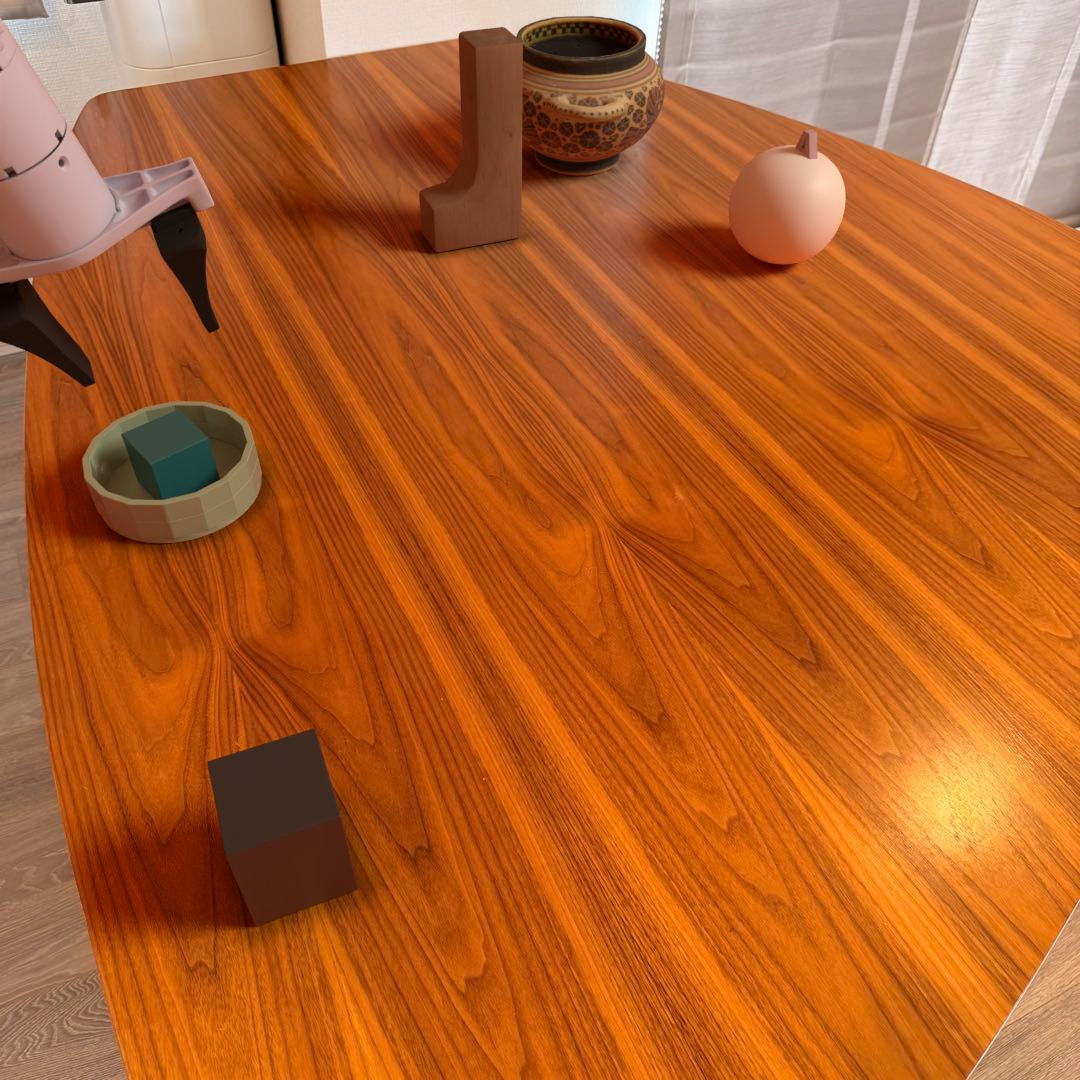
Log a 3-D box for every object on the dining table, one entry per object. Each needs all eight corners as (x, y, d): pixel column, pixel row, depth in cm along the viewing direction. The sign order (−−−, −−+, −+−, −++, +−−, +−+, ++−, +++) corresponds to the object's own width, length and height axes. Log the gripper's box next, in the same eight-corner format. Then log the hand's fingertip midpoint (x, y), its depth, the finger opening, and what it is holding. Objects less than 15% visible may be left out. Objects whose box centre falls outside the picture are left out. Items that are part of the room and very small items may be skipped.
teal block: (166, 512, 66) (149, 464, 63) (137, 481, 68) (120, 433, 65) (222, 485, 68) (208, 437, 65) (192, 456, 70) (178, 408, 67)
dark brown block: (255, 927, 46) (225, 855, 41) (237, 837, 49) (206, 760, 44) (359, 889, 47) (341, 816, 42) (334, 804, 51) (314, 727, 46)
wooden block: (435, 254, 92) (423, 53, 80) (420, 233, 95) (406, 36, 83) (522, 238, 95) (524, 41, 82) (505, 218, 98) (505, 25, 85)
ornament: (849, 255, 94) (882, 130, 85) (793, 295, 88) (823, 165, 80) (759, 221, 99) (782, 99, 90) (701, 257, 93) (719, 130, 85)
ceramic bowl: (517, 138, 119) (484, 7, 109) (661, 102, 116) (640, -35, 106) (518, 234, 102) (478, 89, 91) (687, 194, 99) (665, 41, 89)
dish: (105, 561, 63) (89, 522, 60) (92, 459, 70) (77, 420, 68) (276, 519, 66) (267, 480, 64) (246, 425, 73) (237, 387, 71)
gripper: (137, 48, 49) (246, 258, 60) (-146, 161, 47) (22, 355, 58) (167, 117, 45) (278, 328, 56) (-140, 243, 43) (38, 434, 54)
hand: (149, 347), depth 57 cm, fingers open, 7 cm apart
